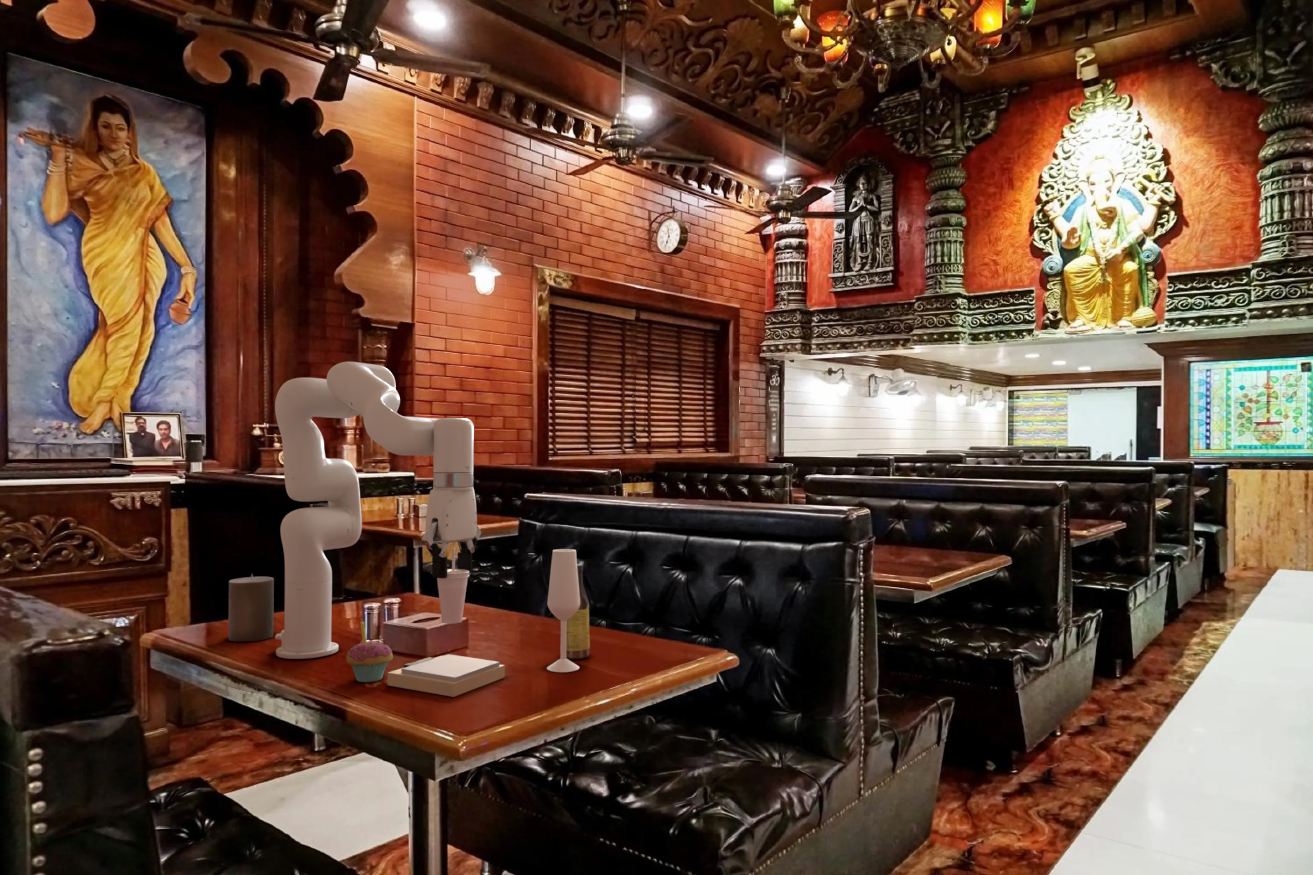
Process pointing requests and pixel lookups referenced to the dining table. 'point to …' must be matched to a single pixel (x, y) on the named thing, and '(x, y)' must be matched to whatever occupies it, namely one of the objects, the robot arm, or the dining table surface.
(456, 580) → the smoothie
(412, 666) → the scale
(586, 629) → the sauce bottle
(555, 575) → the champagne flute
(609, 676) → the dining table surface
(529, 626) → the dining table surface
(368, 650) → the cupcake
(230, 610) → the pillar candle
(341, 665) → the dining table surface
